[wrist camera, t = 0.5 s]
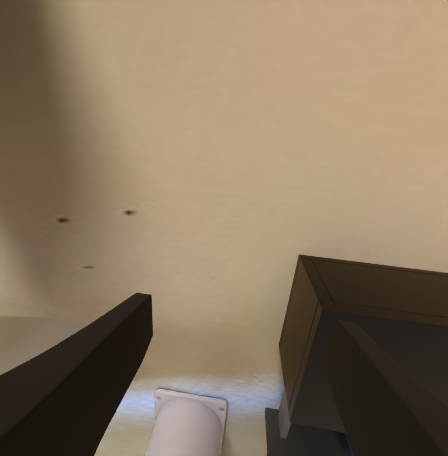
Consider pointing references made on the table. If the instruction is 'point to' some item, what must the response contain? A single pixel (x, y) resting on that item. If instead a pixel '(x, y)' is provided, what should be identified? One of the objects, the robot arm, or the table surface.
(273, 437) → the drawer
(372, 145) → the table surface
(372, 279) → the black drawer box
